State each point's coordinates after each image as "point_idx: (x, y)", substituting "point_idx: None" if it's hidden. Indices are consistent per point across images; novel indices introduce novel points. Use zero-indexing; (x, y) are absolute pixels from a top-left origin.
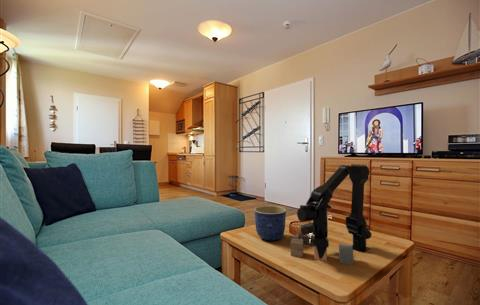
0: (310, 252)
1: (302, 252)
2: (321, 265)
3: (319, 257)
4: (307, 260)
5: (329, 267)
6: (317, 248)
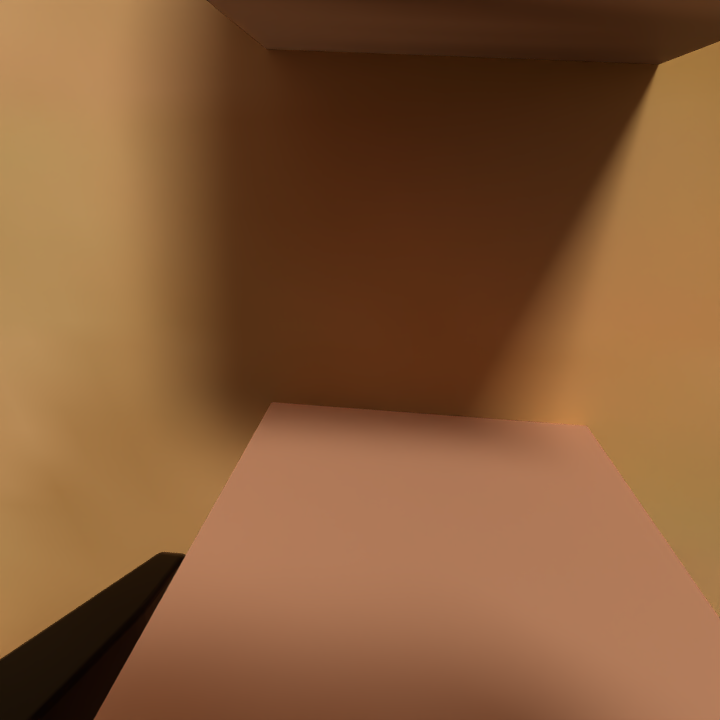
0: (690, 311)
1: (306, 17)
2: (17, 525)
3: (144, 570)
4: (122, 219)
5: (10, 647)
6: None
